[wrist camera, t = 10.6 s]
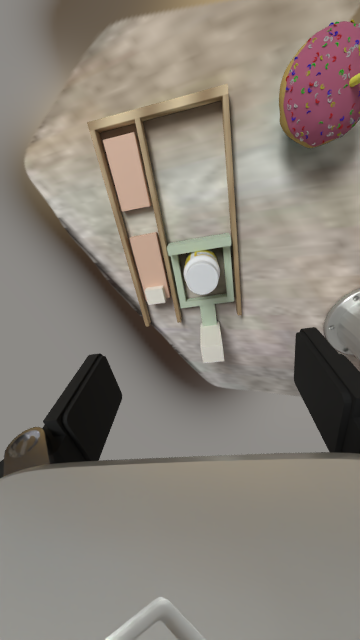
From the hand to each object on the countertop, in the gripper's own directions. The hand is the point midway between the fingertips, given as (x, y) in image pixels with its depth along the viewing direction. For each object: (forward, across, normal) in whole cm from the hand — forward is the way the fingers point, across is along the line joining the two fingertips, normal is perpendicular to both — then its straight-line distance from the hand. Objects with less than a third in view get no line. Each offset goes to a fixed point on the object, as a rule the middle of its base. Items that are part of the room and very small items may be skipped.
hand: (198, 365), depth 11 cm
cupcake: (+26, -14, -13) cm, 33 cm away
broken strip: (+26, +8, -4) cm, 28 cm away
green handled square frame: (+26, 0, +7) cm, 27 cm away
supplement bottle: (+26, 0, +2) cm, 26 cm away
